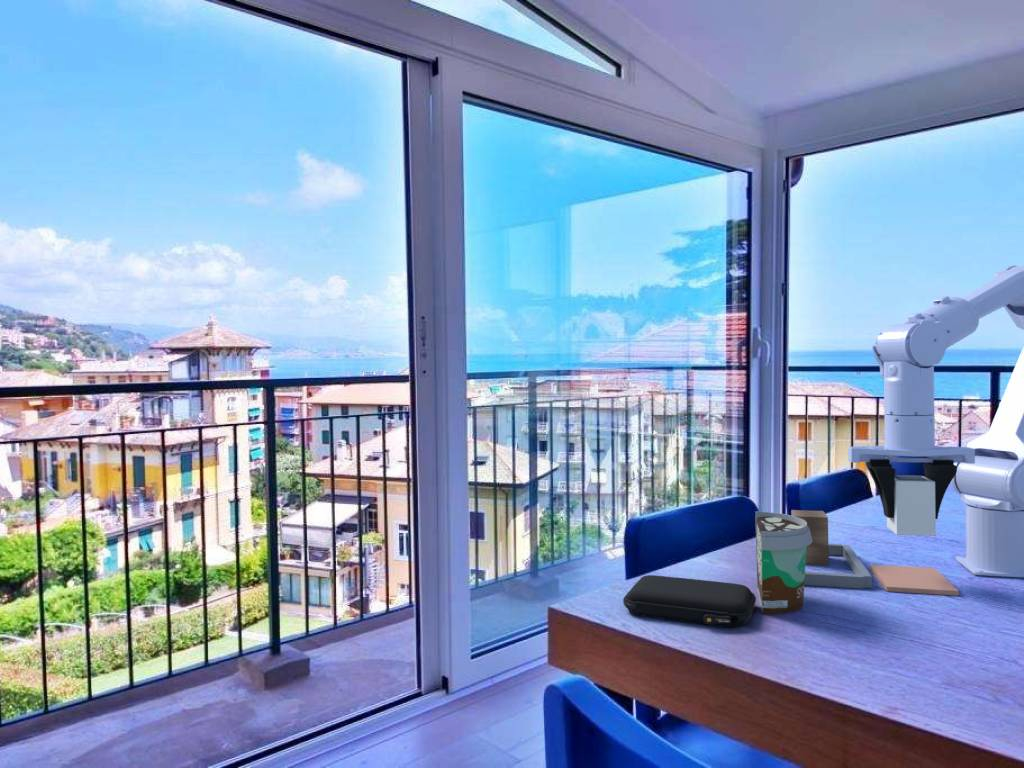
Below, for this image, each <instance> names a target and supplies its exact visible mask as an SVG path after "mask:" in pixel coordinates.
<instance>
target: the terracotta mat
mask: <svg viewBox="0 0 1024 768" xmlns="http://www.w3.org/2000/svg"><path fill="white" fill-rule="evenodd" d="M869 569H870V571H871V572H872V573H873V575H874V576H875V578H876V579H877V580H878V582H879V583H880V584H881V586H882V587H883V588H884V589H885V591H886V592H895V593H908V594H909V593H910V594H924V595H925V594H926V595H927V594H928V595H941V596H957V597H959V596H960V595H959V594H960V592H959V590H958V589H957V588H956V587H955V586H954V585H953V584H952V583H951V582H950V581H949V580H948V579H947V578H946V577H945V576H943V574H942V573H940V572H939V570H937V569H936V568H935V567H921V566H903V565H885V564H869Z"/></svg>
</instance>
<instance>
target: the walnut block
mask: <svg viewBox="0 0 1024 768" xmlns="http://www.w3.org/2000/svg"><path fill="white" fill-rule="evenodd" d="M791 516H795V517H798V518H801V519H803V520H805V521H806V522H807V526H808V527H809V528H810V532H811V537H812V543H811V544H810V545H808V546H807V547H806V564H805V565H813V566H829V565H830V562H829V561H830V560H829V559H830V555H829V550H828V543H829V517H828V515H827V513H826V512H825V511H823V510H803V509H802V510H799V509H798V510H797V509H791Z"/></svg>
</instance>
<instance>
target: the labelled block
mask: <svg viewBox="0 0 1024 768" xmlns="http://www.w3.org/2000/svg"><path fill="white" fill-rule="evenodd" d="M893 495H894V518H888V517H886V528H888V530H890V531H891V532H893V533H894V534H895V535H896V536H919V537H920V536H922V537H936V532H937V531H936V525H937V524H936V520H937V519H935V482H934V481H932V480H930V479H928V478H926V477H925V475H904V474H903V475H901V474H900V475H899V474H898V475H896V474H895V478H894V492H893Z"/></svg>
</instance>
